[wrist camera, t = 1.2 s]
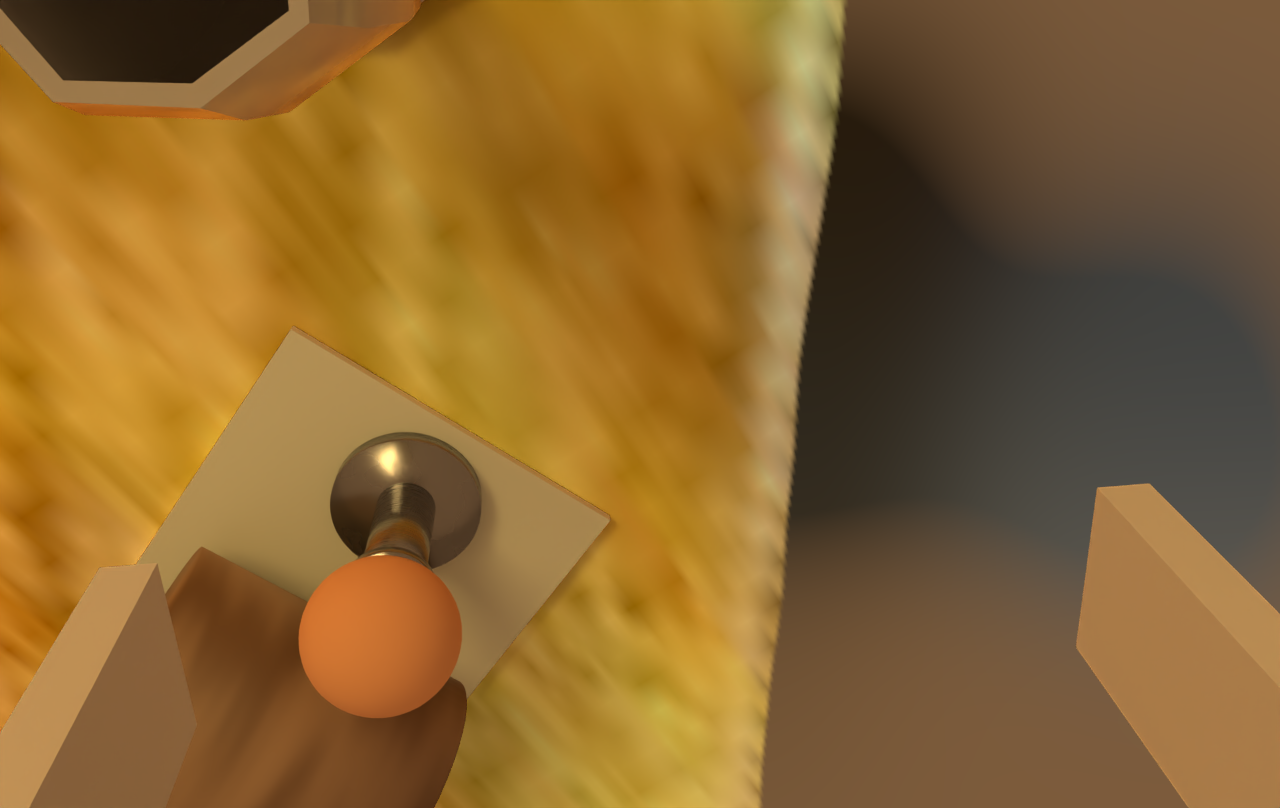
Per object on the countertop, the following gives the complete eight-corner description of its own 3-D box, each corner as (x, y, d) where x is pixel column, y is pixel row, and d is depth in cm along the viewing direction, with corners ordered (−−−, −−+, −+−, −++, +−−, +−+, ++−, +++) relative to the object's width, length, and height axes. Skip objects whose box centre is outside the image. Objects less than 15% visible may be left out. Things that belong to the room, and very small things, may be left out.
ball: (284, 610, 40) (252, 706, 35) (363, 499, 38) (341, 584, 34) (414, 677, 41) (400, 777, 37) (494, 573, 40) (490, 664, 35)
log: (113, 670, 48) (27, 835, 40) (225, 504, 45) (157, 645, 37) (355, 785, 51) (322, 960, 43) (471, 637, 48) (460, 793, 40)
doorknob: (305, 516, 46) (272, 612, 40) (383, 405, 44) (360, 488, 38) (431, 584, 47) (416, 687, 41) (510, 480, 46) (507, 571, 40)
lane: (-112, 939, 53) (-169, 1036, 48) (293, 325, 43) (266, 377, 39) (180, 1051, 57) (151, 1149, 53) (609, 515, 47) (617, 581, 43)
